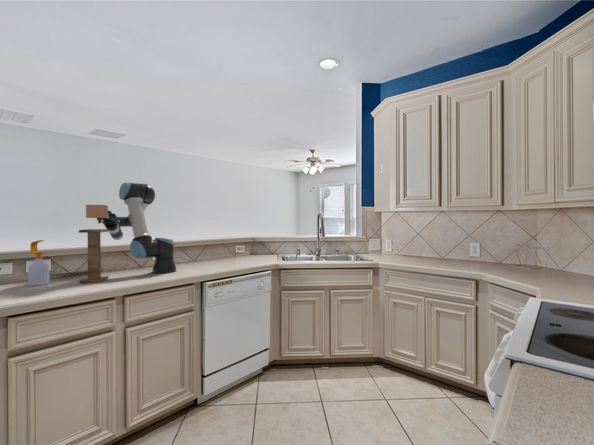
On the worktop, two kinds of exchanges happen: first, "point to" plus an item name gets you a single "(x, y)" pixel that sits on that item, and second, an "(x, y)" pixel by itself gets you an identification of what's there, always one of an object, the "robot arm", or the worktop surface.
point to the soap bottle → (38, 268)
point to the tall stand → (94, 256)
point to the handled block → (97, 211)
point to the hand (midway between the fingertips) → (101, 209)
